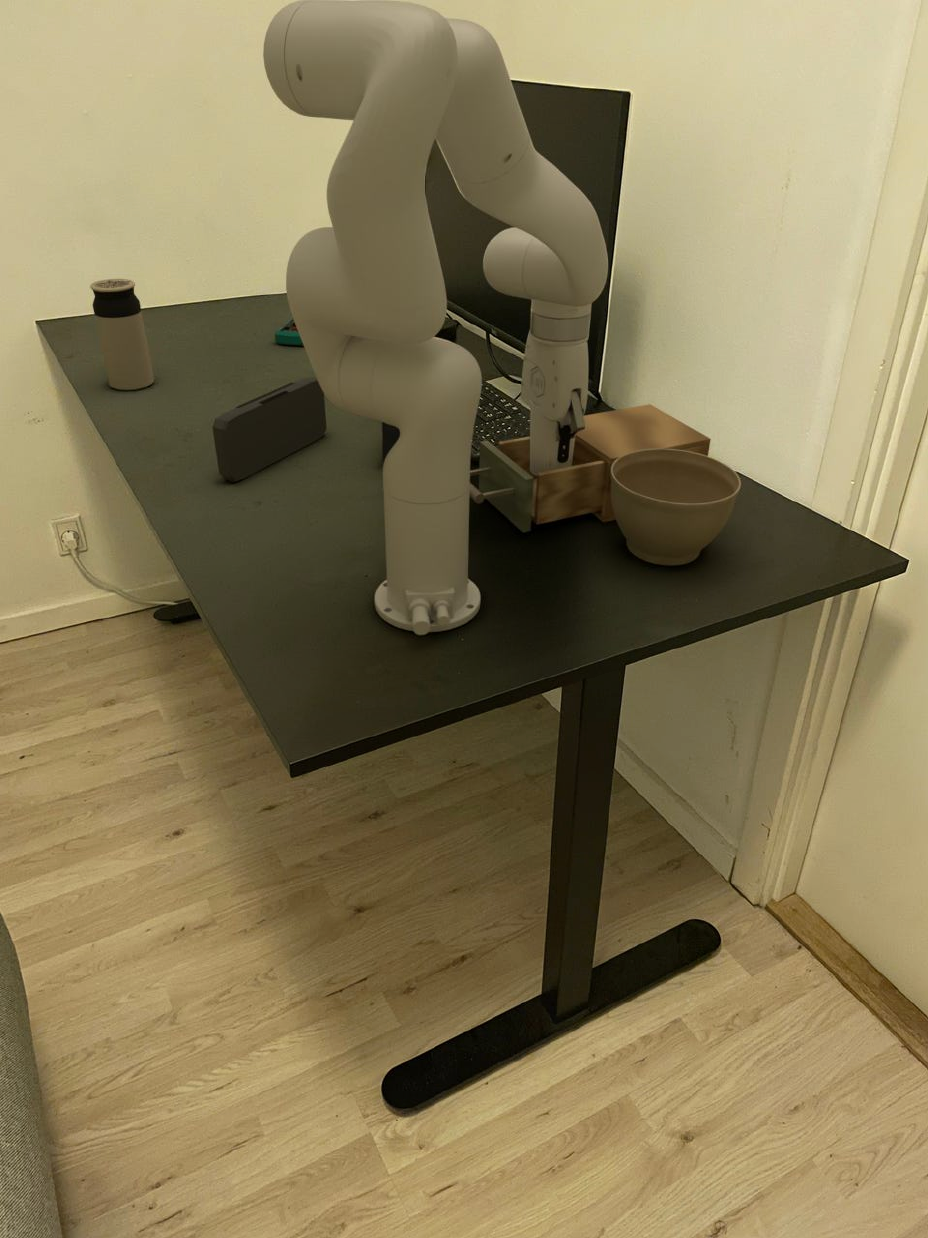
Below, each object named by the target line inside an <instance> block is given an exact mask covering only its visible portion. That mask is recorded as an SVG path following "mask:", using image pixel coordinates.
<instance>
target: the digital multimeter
mask: <svg viewBox="0 0 928 1238" xmlns="http://www.w3.org/2000/svg"><path fill="white" fill-rule="evenodd" d="M274 340H275V343H276V344H277V345H284V346H300V347H304V345H303V343H302V340H301V337H300V335H299V332H298V330H297V327H296V325H295V322H294V319H293V317H291V318H290V319H289V320H288V321H287V322H286V323H284V325H283V326H281V327H280V328H279V329H278V330H277V331H275V333H274Z"/></svg>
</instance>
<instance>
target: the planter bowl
mask: <svg viewBox="0 0 928 1238" xmlns="http://www.w3.org/2000/svg"><path fill="white" fill-rule="evenodd" d="M741 486H742V481H741V478H740V476H739V474H738V473H737V472H736V471H735V470H734V469H732V467H730V466H729V465H728V464H726V463H724V462H722V461H719V460H718V459H716V458H713V457H711V456H709V455H708V456H706V455H703V454H699V453H695V452H690V451H684V450H677V449H645V450H639V451H634V452H631V453H627V454H625V455H622V456H621V457H619V458H617V459H616V460H615V461H614V462H613V464H612V466H611V502H612V508H613V512H614V515H615V518H616V520H615V521H616V524H617V526H618V528H619V530H620V531H621V534H622V535H623V536H624V538H625V539H626V547H627V549H628V551H629V552H630V553H631V554H632V555H634V556H635V557H636V558H638V559H640V560H642V561H644V562H647V563H651V564H654V565H660V566H681V565H687V564H689V563H691V562H694V561H695V560H696V559H697V558H698V557H699V555H700V554H701V551H702V550H703V549H705V548H706V547H707V546H708V545H709V544H711V542H713V540H714V539H716V537H717V536H718V535H719V534H720V532H721V531H722V530H723V528H724V527H725V525H726V524H727V522H728V521H729V518H730V516H731V514H732V512H733V509H734V507H735V503H736V499H737V498H738V496H739V494H740V490H741Z"/></svg>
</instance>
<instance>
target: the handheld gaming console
mask: <svg viewBox="0 0 928 1238" xmlns="http://www.w3.org/2000/svg"><path fill="white" fill-rule="evenodd" d="M325 403H326V402H325V394H324V392H323V391H322V389H321V387H320V385H319V382H318V380H317V378H316V376H307V377H303V378H300V379H297V380H296V381H293V382H290V383H289V382H288V383H287V384H285V385H283V386H282V385H281V386H280V387H278V388H276V389H274V390H271V391H268V392H267V393H264V394H262V395H260V396H258V397H255V398H253V399H251V400H248V401H246V402H244V403H242V404H239V405H237V406H235V408H232V409H230V410H228V411H226V412H223V413H222V414H219V416H217V417H215V419H214V421H213V424H212V426H211V428H212V434H213V440H214V441H213V442H214V447H215V455H216V461H217V467H218V473H219V475H220V476H221V477H222V478H223V479H224V480H226V481H228V482H232V483H234V482H238V481H241V480H244V479H246V478H248V477H250V476H252V475H253V474H256V473H258V472H260V471H261V470H264V468H267V467H268V466H270V465H273V464H274V463H277V462H278V461H280V460H282V459H284V458H286V457H288V456H289V455H291V454H293V453H295V452H297V451H299V450H301V449H302V448H305V447H306V446H308V445H310V444H312V443H314V442H316V441H318V440H320V439H321V438H322V437H323V436H325V433H326V430H327V428H328V427H327V416H326V404H325Z"/></svg>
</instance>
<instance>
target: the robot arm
mask: <svg viewBox="0 0 928 1238" xmlns="http://www.w3.org/2000/svg"><path fill="white" fill-rule="evenodd" d="M262 51H263V52H262V53H263V54H262V57H263V66H264V71H265V74H266V78H267V80H268V82H269V85H270V87H271V89H272V90H273V91H272V92H274V94H275V96H276V97H277V98H278V99H279V101H280V102H281V103H282V104H283V105H284V106H286V107H287V108H288V109H289V110H290V111H292V112H293V113H296V114H298V115H300V116H304V117H309V118H316V119H317V118H319V119H332V120H342V121H343V120H344V121H352V123H351V125H350V127H349V129H348V132H347V135H346V137H345V139H344V141H343V142H342V145H341V147H340V149H339V151H338V153H337V155H336V158H335V159H334V162H333V164H332V166H331V169H330V171H329V175H328V179H327V184H326V205H327V210H328V211H327V212H328V215H329V220H330V223H331V226H326V227H325V226H323V227H319V228H318V227H317V228H315V229H312V230H310V231H308V232H306V233H305V234H304V235H302V236H301V237H300V239H298V241H297V242H296V243H295V245H294V246H293V248H292V250H291V252H290V255H289V258H288V261H287V267H286V272H285V273H286V275H285V277H286V278H285V291H286V298H287V303H288V308H289V310H290V314H291V316H292V318H293V319H294V322H295V325H296V327H297V330H298V332H299V335H300V337H301V340H302V343H303V345H304V346H303V347H304V351H305V352H306V355H307V357H308V360H309V363H310V365H311V367H312V370H313V373H314V376H315V377H316V378H317V380H318V382H319V385H320V387H321V389H322V391H323V392H324V397H326V399H327V400H328V401H329V402H330V403H331V404H332V405H333V406H334V407H336V408H337V409H339V410H341V411H343V412H345V413H348V414H352V415H355V416H359V417H362V418H367V419H369V420H374V421H378V422H381V423H382V422H384V423H386V424H389V425H393V426H395V427H397V428H398V429H399V430H400V437H399V439H398V441H397V442H396V443H395V445H394V446H393V447H392V449H391V450H390V451H389V453H388V454H387V456H386V458H385V461H384V465H383V466H382V494H383V515H384V516H383V517H384V519H383V520H384V543H385V545H384V546H385V567H386V568H385V569H386V579H385V580H384V581H383V582H382V583H380V584H379V585H378V587H377V588H376V590H375V592H374V608H375V611H376V612H377V614H378V616H379V617H380V618H381V619H382V620H384V621H385V622H386V623H388V624H390V625H392V626H394V627H396V628H397V629H401V630H405V631H409V632H414V634H415V635H418V636H425V635H427V634H428V633H438V632H439V633H440V632H444V631H449V630H452V629H455V628H458V627H461V626H463V625H466V624H467V623H468V622H469V621H471V620H473V619H474V618H475V616H476V615H477V614H478V612H479V610H480V608H481V603H482V602H481V601H482V600H481V592H480V589H479V587H478V586H477V585H476V584H475V583H474V582H473V581H472V580H470V579H469V539H470V538H469V537H470V536H469V535H470V533H469V532H470V526H469V525H470V496H469V488H470V483H471V476H470V471H471V457H472V456H471V455H472V452H471V451H472V443H473V435H474V429H475V423H476V418H477V413H478V409H479V404H480V399H481V394H482V387H483V385H482V384H483V377H482V371H481V368H480V365H479V363H478V360H477V359H476V358H475V356H474V355H472V353H471V352H470V351H468V350H467V349H466V348H465V347H463V346H461V345H460V344H457V343H455V342H452V341H450V340H448V339H444V338H441V337H436V335H438V333H439V332H440V331H441V329H442V327H443V326H444V324H445V321H446V317H447V310H448V298H447V290H446V283H445V279H444V276H443V275H444V274H443V271H442V266H441V262H440V257H439V253H438V248H437V244H436V240H435V235H434V231H433V227H432V223H431V218H430V214H429V207H428V202H427V197H426V172H427V165H428V162H429V158H430V154H431V151H432V148H433V144H434V142H435V141H436V143H437V145H438V147H439V149H440V152H441V154H442V156H443V159H444V160H445V162H446V164H447V167H448V170H449V171H450V174H451V175H452V178H453V180H454V182H455V184H456V187H457V189H458V191H459V193H460V194H461V195H462V197H463V198H464V199H465V200H466V201H467V202H468V203H469V204H470V205H472V206H474V207H475V208H477V209H479V210H480V211H482V213H485V214H487V215H489V216H491V217H492V218H493V219H497V220H498V221H501V222H502V223H505V224H507V225H509V226H510V227H509V228H506V229H503V230H502V231H500V232H498V233H497V234H496V235H495V236H494V237H493V238H492V239H491V240H490V242H489V243H488V245H487V246H486V249H485V252H484V254H483V261H482V269H483V274H484V277H485V279H486V281H487V283H488V284H489V285H490V286H491V288H493V290H495V291H496V292H498V293H501V294H503V295H506V296H510V297H516V298H521V299H527V300H530V301H531V306H530V324H529V325H530V327H529V331H528V335H527V338H526V342H525V349H524V355H523V363H522V370H521V371H522V372H521V383H520V385H521V386H520V398H521V400H522V401H523V403H524V404H525V405H527V406H528V407H530V401H532V402H533V404H534V405H536V406H538V407H540V408H543V416H544V417H545V418H547V419H548V420H550V421H552V422H557V425H556V439H557V440H555V442H557V441H559V446H558V456H557V460H558V462H560V463H564V462H566V461H567V460H568V458H569V447H570V439H573V438H575V434H576V433H577V432H579V431H581V430H583V429H585V422H584V418H583V416H585V413H586V409H587V403H588V391H589V347H588V340H589V336H590V327H591V317H592V316H591V315H592V304H593V302H595V301H596V300H597V299H598V298H599V296H600V295H601V294H602V292H603V290H604V289H605V286H606V283H607V279H608V273H609V259H608V251H607V244H606V239H605V237H604V234H603V230H602V226H601V223H600V220H599V217H598V213H597V212H596V210H595V208H594V206H593V204H592V202H591V201H590V200H589V199H588V198H587V196H586V195H585V194H584V192H582V190H581V189H580V188H579V187H578V186H576V185H575V183H573V182H572V181H571V180H570V179H569V178H568V177H567V176H566V175H565V174H564V173H562V172H561V171H560V170H559V168H558V167H557V166H555V165H554V164H553V163H552V162H551V161H549V159H547V158H546V157H544V156H543V155H542V154H541V153H539V152H538V151H537V150H536V148H535V147H534V144H533V141H532V138H531V135H530V131H529V128H528V126H527V124H526V120H525V117H524V115H523V111H522V109H521V106H520V104H519V100H518V98H517V94H516V91H515V89H514V86H513V83H512V79H511V77H510V74H509V71H508V68H507V65H506V62H505V60H504V57H503V54H502V52H501V49H500V46H499V44H498V43H497V40H496V39H495V38H494V36H493V35H492V34H491V32H490V31H489V30H487V29H486V28H485V27H484V26H483V25H480V24H478V23H476V22H474V21H471V20H468V19H467V20H466V19H461V18H449V17H445V16H443V15H442V14H441V13H440V12H438V11H437V10H436V9H433V8H431V7H428V6H426V5H422V4H418V3H414V2H410V1H409V2H408V1H402V0H401V1H400V0H296V1H293V2H290V3H288V4H287V5H285V6H284V7H282V8H281V9H279V11H277V12H276V13H275V15H274V16H273V18H272V19H271V21H270V22H269V25H268V28H267V30H266V32H265V36H264V40H263V49H262ZM568 409H569V414H570V418H571V422H570V424H568V425H564V426H563V427H562V428H561V422H559V420H562V419H564V417H565V415H566V413H567V411H568ZM563 446H565V449H564V448H563ZM563 455H564V456H563ZM570 461H571V459H570ZM550 467H551V460H550Z"/></svg>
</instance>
